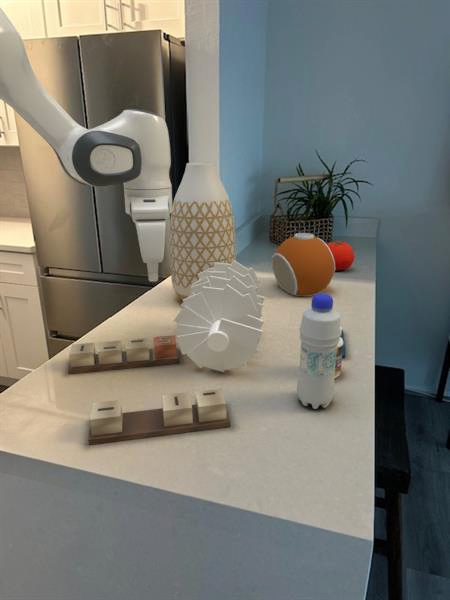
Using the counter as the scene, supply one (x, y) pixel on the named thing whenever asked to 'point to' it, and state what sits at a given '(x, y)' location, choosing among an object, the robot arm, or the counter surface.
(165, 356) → the s tile
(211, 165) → the vase
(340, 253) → the tomato
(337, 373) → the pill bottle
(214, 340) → the spiral staircase
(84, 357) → the back rack
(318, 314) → the bottle
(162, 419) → the front rack
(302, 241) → the alarm clock
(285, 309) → the counter surface
